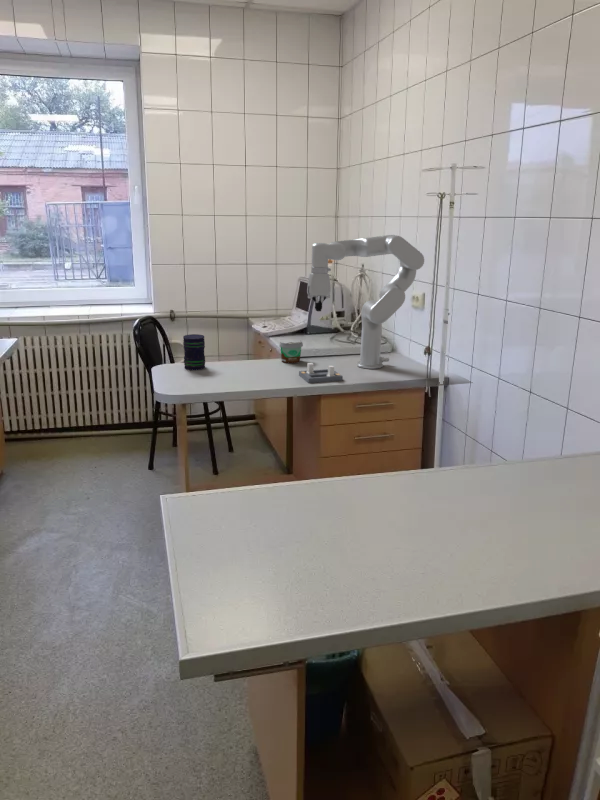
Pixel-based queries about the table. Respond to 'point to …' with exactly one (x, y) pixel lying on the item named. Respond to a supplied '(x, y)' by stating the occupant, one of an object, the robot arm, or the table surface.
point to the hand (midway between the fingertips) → (318, 310)
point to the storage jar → (194, 352)
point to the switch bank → (320, 376)
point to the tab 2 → (330, 371)
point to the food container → (291, 352)
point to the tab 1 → (310, 368)
